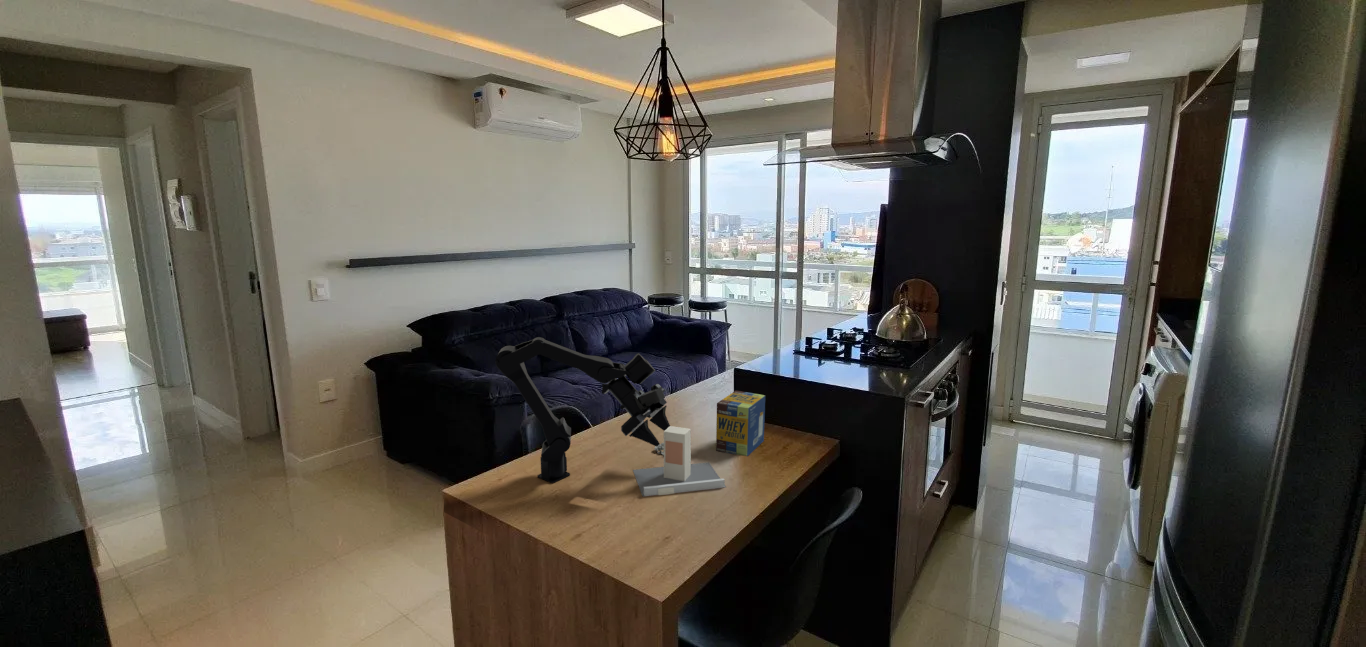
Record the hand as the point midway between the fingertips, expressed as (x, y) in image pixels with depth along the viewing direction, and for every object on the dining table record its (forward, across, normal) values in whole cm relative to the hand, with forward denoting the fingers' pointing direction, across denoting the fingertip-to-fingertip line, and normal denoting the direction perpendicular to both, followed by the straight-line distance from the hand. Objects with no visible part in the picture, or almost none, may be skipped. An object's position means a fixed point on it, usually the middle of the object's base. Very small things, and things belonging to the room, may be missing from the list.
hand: (665, 439), depth 153 cm
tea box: (+10, 0, +4) cm, 11 cm away
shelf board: (+11, -1, +5) cm, 12 cm away
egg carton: (+5, +16, +12) cm, 21 cm away
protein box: (+18, +30, -1) cm, 35 cm away
